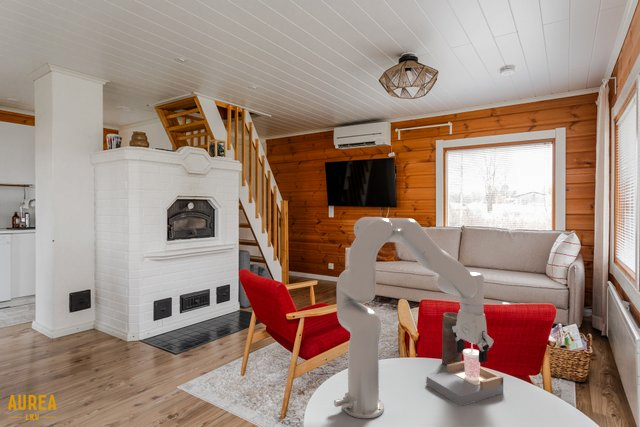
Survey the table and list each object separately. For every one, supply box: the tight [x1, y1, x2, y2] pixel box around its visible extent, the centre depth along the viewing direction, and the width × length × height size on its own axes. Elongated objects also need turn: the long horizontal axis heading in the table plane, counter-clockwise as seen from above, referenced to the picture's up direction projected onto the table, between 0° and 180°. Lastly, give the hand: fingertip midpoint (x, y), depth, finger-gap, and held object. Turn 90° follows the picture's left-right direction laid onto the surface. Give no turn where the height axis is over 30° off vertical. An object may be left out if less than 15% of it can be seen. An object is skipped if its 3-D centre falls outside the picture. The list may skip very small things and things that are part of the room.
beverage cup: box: [462, 343, 481, 381], centre depth 132 cm, size 6×6×14 cm
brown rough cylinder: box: [441, 311, 463, 366], centre depth 152 cm, size 8×7×20 cm
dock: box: [426, 360, 504, 406], centre depth 130 cm, size 19×16×6 cm
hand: (471, 357), depth 132 cm, fingers open, 9 cm apart
